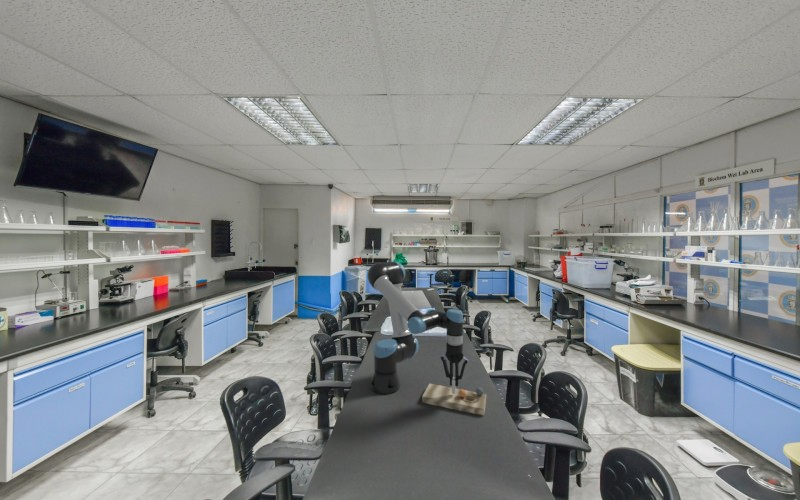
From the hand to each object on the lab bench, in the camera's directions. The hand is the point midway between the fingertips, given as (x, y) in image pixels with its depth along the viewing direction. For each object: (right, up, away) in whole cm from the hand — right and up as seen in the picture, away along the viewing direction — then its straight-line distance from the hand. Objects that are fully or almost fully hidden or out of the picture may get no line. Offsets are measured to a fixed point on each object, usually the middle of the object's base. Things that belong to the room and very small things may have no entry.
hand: (454, 392), depth 141 cm
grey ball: (+12, 0, 0) cm, 12 cm away
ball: (+4, 0, -1) cm, 4 cm away
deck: (0, -5, 0) cm, 5 cm away
